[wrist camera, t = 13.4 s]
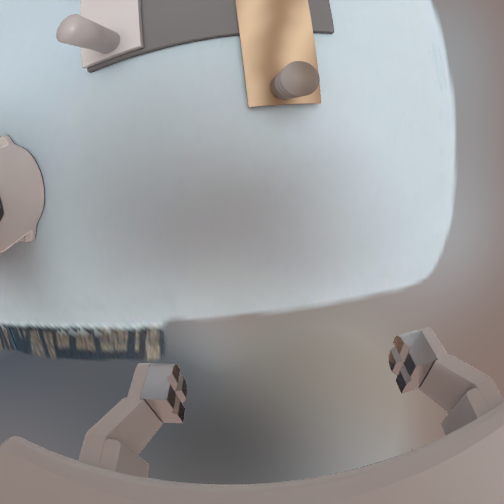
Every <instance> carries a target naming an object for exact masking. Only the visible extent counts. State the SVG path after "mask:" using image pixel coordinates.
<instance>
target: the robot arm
mask: <svg viewBox="0 0 504 504" xmlns="http://www.w3.org/2000/svg"><path fill="white" fill-rule="evenodd" d="M43 206H44V186H43V180H42V176H41V173H40V170H39V168H38V165H37V163H36V162H35V160H34V158H33V157H32V156H31V154H30V153H29V152H28V151H27V150H25V149H24V148H22V147H20V146H18V145H16V144H14V142H13V141H12V140H11V138H10V137H9V136H8V135H3V136H1V137H0V252H1V253H3V252H5V251H6V250H7V249H8V248H10V247H11V246H12V245H14V244H15V243H16V242H18V241H19V242H31V241H33V240H34V239H35V236H36V225H37V223H38V221H39V219H40V217H41V214H42V211H43ZM393 343H394V345H395V346H394V347H393V348H392V349H391V350H390V353H389V365H390V368H391V371H392V372H393V373H394V374H396V375H397V378H396V382H397V385H398V387H399V389H400V391H401V393H405V392H408V391H411V390H415V389H418V388H419V389H420V390H421V391H422V392H423V393H425V394H426V395H427V396H428V397H429V398H431V399H432V400H433V401H434V402H436V403H437V404H438V405H439V406H441V407H442V408H443V409H444V410H445V411H447V412H448V413H449V414H448V415H447V416H446V417H445V418H444V420H443V421H442V423H441V426H442V428H443V431H444V433H445V436H444V437H441V438H439V439H437V440H435V441H433V442H431V443H428V444H426V445H424V446H421V447H419V448H416V449H414V450H411V451H409V452H406V453H404V454H401V455H398V456H395V457H392V458H390V459H387V460H384V461H380V462H377V463H374V464H370V465H367V466H363V467H360V468H356V469H352V470H348V471H344V472H340V473H335V474H330V475H325V476H320V477H314V478H308V479H302V480H294V481H286V482H277V483H265V484H245V485H213V484H194V483H182V482H172V481H164V480H157V479H150V478H147V475H148V468H149V465H148V464H147V462H145V461H144V460H143V459H141V458H140V457H139V456H138V454H139V453H140V452H141V451H142V449H143V448H144V447H145V446H146V444H147V443H148V442H149V440H150V439H151V438H152V437H153V436H154V434H155V433H156V432H157V430H158V429H159V428H160V427H161V425H162V424H163V423H162V422H164V423H165V422H166V423H183V421H184V413H185V408H184V406H183V404H182V403H183V402H184V401H185V400H186V398H187V384H186V381H185V378H184V377H183V376H182V375H180V374H179V373H180V368H179V367H178V365H177V364H149V363H139V364H138V365H137V367H136V369H135V373H134V376H133V379H132V383H131V386H130V390H129V393H128V397H127V398H123V399H122V400H121V401H120V402H119V403H118V404H117V405H116V406H114V407H113V408H112V409H111V410H110V411H109V412H108V413H107V414H106V415H105V416H104V417H103V418H102V419H100V420H99V421H98V422H97V423H96V424H95V425H94V426H93V427H92V428H91V429H90V430H89V431H87V433H86V435H85V439H84V442H83V445H82V449H81V453H80V457H79V460H78V461H77V460H74V459H71V458H68V457H65V456H62V455H60V454H57V453H55V452H52V451H50V450H47V449H45V448H42V447H40V446H38V445H36V444H33V443H31V442H29V441H27V440H25V439H23V438H21V437H18V436H14V437H11V438H9V439H8V440H6V441H5V442H4V443H2V444H1V445H0V504H504V399H503V397H502V395H501V394H500V392H499V390H498V388H497V386H496V385H495V383H494V381H493V379H492V378H491V377H490V376H487V375H486V374H484V373H483V372H481V371H479V370H477V369H475V368H474V367H472V366H470V365H468V364H467V363H465V362H463V361H461V360H460V359H458V358H456V357H454V356H452V355H449V356H448V354H447V352H446V351H445V349H444V348H443V346H442V344H441V343H440V341H439V340H438V338H437V337H436V335H435V333H434V332H433V330H432V329H431V328H430V327H427V328H424V329H420V330H416V331H412V332H409V333H405V334H402V335H398V336H396V337H395V339H394V342H393Z"/></svg>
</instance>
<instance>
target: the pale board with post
mask: <svg viewBox="0 0 504 504" xmlns="http://www.w3.org/2000/svg"><path fill="white" fill-rule="evenodd" d="M56 37H57V40H58V41H59V42H61V43H66V44H70V45H74V46H78V47H81V57H82V68H88V67H90V66H93V65H95V64H98V63H100V62H103V61H105V60H108V59H110V58H113V57H116V56H119V55H121V54H124V53H127V52H130V51H133V50H137V49H140V48H143V47H144V45H143V33H142V18H141V0H81V12H80V15H77V14H74V15H70V16H68V17H67V18H65V19H64V20H63V21H62V22H61V24H60V25H59V27H58V29H57V33H56Z"/></svg>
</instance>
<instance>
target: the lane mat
mask: <svg viewBox="0 0 504 504" xmlns="http://www.w3.org/2000/svg"><path fill="white" fill-rule="evenodd" d="M308 4H309V10H310V16H311V22H312V28H313V33H329V34H332V33H334V26H333V20H332V14H331V9H330V4H329V0H308ZM141 18H142V33H143V45H144V47H143V48H140V49H137V50H133V51H130V52H127V53H124V54H121V55H119V56H116V57H113V58H110V59H108V60H105V61H103V62H100V63H98V64H95V65H93V66H90V67H88V68H87V70H88V72H93V71H96V70H98V69H101V68H103V67H106V66H109V65H111V64H114V63H117V62H120V61H123V60H126V59H129V58H132V57H135V56H138V55H141V54H145V53H148V52H152V51H155V50H159V49H163V48H167V47H171V46H176V45H180V44H185V43H190V42H195V41H200V40H206V39H212V38H219V37H226V36H235V35H240V33H239V25H238V17H237V10H236V2H235V0H141Z"/></svg>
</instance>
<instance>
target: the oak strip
mask: <svg viewBox="0 0 504 504" xmlns="http://www.w3.org/2000/svg"><path fill="white" fill-rule="evenodd" d="M235 2H236V10H237V17H238V25H239V33H240V41H241V49H242V57H243V65H244V73H245V82H246V90H247V98H248V107H256V106H268V105H283V104H307V103H321V95H320V85H319V81H320V80H319V74H318V66H317V57H316V50H315V42H314V35H313V28H312V22H311V16H310V10H309V4H308V0H235Z"/></svg>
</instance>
